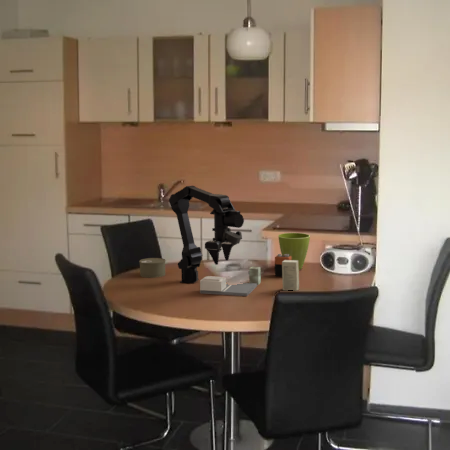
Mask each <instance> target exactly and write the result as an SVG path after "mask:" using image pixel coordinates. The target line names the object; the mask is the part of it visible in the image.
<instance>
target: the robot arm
mask: <svg viewBox="0 0 450 450" xmlns="http://www.w3.org/2000/svg"><path fill="white" fill-rule="evenodd" d="M193 198H194V199H196V200H199V201H201V202H204V203H206V204H208V206H209V207H210V208H211V209H212V211H211V212H210V213H209V214H210V215H213V222H214V223H213V224H214V225H213V228H212V232H214V237H213V238H212V240H208V241H206V242H204V249H206V251H208V254H209V255H210V257H211V259H212V261H213V262H214V265H219V261H220V260H219V259H220V252H221V251H222V253H223V256H224V261H229V258H230V255H231V252H232V248H233V247H234V246H237V245H238V244H240V242H241V240H242V239H243V235H242V232H241V231H240V230H237V231H234V232H232V231H231V230H232V229H231V228H237V229H238V228H239V229H240V228H242V226H244V224H245V223H244V222H245V218H244V216H243V214H242V213H241V210H236V208H235V206H234V205H233V204H232V202H231V199H230V197H229V196H228V195H227V194H220V193H212V192H209V191H206V190H204V189H202V188H198V187H197V186H195V185H187V186H184V187H183V188H182V189H180V190H179V191H177V192H175V193H171V195H170V196H169V198H168V201H169V206H170V209H171V210H172V211H173V212H174V213H175V214H176V219H177V223H178V228H179V232H180V235H181V236H180V237H181V241H182V246H183V248H182V251H181V259H179V261H178V263H177V267H178V269H179V270H181V271H180V272H181V280H180V283H182V284H183V283H185V284H187V283H188V284H195V283H196V282H198V281H200V280H199V271H198V268H200V266H201V262H202V260H203V254H202V249H201V247H200V246H197V244H195V241H194V235H193V231H192V226H191V222H190V217H189V214H188V212H189V209H190V201H191V200H193Z"/></svg>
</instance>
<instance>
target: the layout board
mask: <svg viewBox="0 0 450 450" xmlns="http://www.w3.org/2000/svg"><path fill="white" fill-rule="evenodd" d="M242 283H243V284H237V285H228V284H227V283H226V288H225V289H224V290H222V291H206V290H199V293H200V294H205V295H208V294H209V295H221V296H222V295H223V296H237V297H239V296H240V297H248V296H249V295H250V294H251V293H252V292H253V291H254V290H255V289H256V288H257V287H258V285H257V283H249V282H242Z"/></svg>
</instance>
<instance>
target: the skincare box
mask: <svg viewBox="0 0 450 450" xmlns="http://www.w3.org/2000/svg"><path fill="white" fill-rule="evenodd" d="M299 272H300V270H299V264H298V260H284V261H283V262H282V277H281V278H282V291H288V290H293V291H292V292H297V291H298V290H299V289H300V273H299Z"/></svg>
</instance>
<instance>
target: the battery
mask: <svg viewBox="0 0 450 450" xmlns="http://www.w3.org/2000/svg"><path fill="white" fill-rule="evenodd" d="M284 260H292V257H291V256H289V254H284V255H282V254H280V253H277V255H276V256H274V277H278V278H279V277H281V278H282V262H283V261H284Z"/></svg>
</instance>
